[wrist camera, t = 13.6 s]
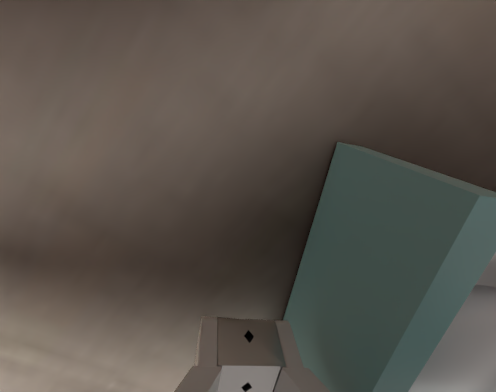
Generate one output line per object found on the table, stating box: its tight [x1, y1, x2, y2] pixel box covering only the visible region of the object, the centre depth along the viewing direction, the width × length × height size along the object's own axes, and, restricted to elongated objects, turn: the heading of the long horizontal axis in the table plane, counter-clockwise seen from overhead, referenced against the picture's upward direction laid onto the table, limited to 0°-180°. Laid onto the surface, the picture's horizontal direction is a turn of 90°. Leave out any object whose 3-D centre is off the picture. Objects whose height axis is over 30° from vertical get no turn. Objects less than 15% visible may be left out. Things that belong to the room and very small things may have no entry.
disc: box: [408, 285, 496, 392], centre depth 10 cm, size 7×7×2 cm
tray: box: [283, 142, 496, 392], centre depth 10 cm, size 16×13×5 cm
